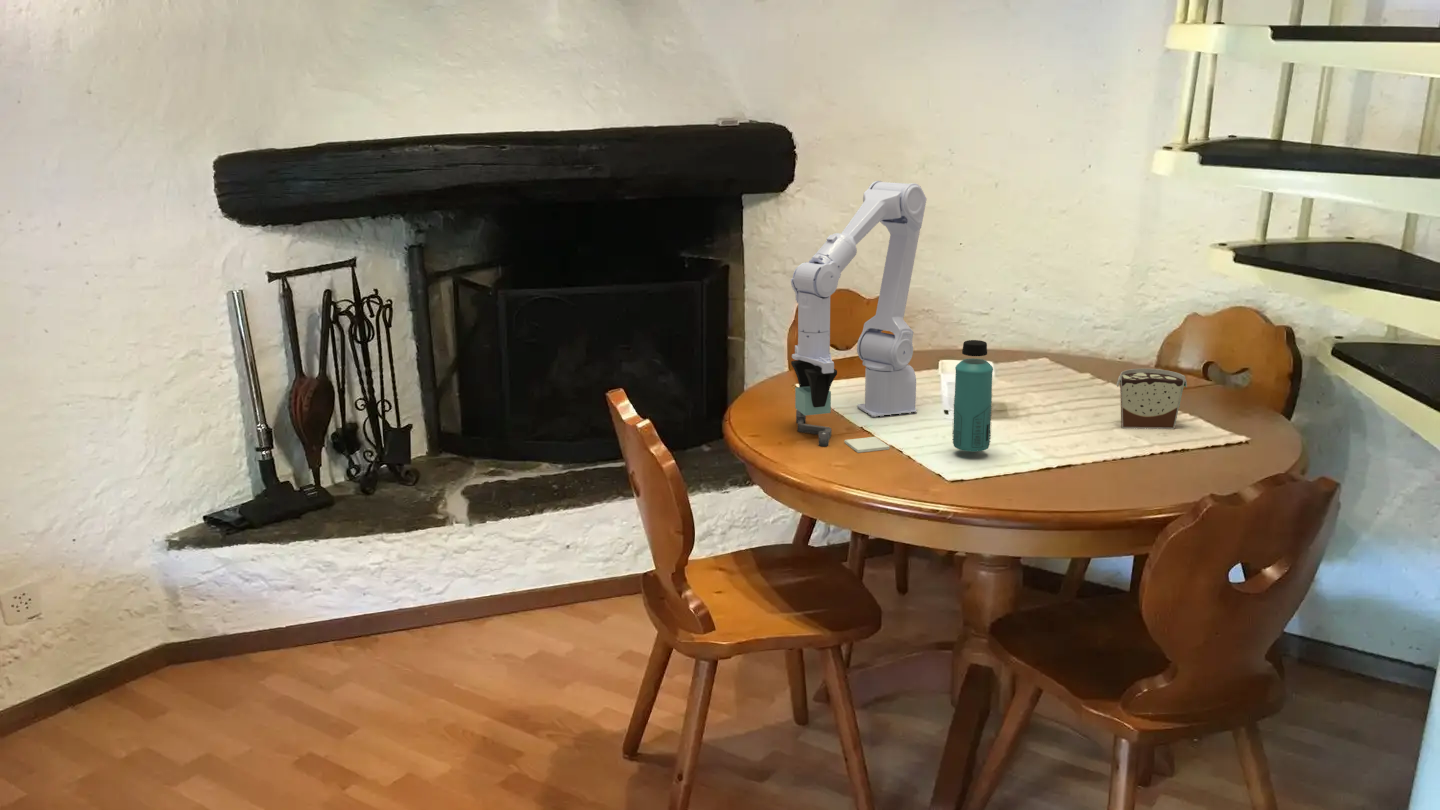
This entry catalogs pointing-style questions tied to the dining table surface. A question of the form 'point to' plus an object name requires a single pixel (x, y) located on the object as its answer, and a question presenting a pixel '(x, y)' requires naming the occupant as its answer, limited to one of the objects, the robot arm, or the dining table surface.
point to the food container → (1150, 398)
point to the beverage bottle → (972, 399)
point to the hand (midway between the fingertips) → (813, 402)
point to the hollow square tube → (809, 402)
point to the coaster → (866, 444)
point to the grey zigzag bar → (813, 429)
